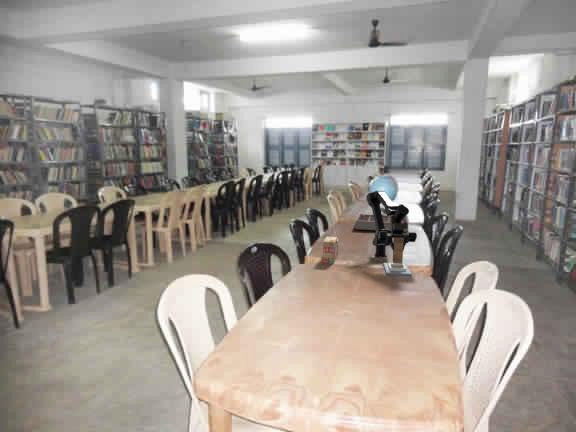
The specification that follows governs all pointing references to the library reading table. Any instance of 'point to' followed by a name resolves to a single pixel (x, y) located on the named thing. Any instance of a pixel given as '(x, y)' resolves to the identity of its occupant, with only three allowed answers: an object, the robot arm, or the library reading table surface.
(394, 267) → the blueprint board
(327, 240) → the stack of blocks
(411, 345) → the library reading table surface
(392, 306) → the library reading table surface
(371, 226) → the organizer tray
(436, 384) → the library reading table surface
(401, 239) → the walnut column
